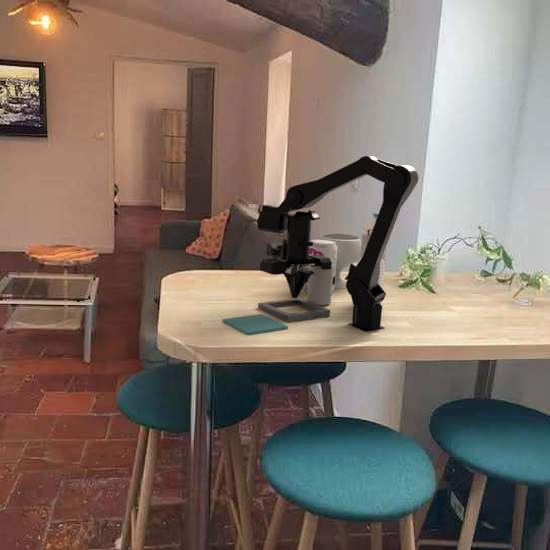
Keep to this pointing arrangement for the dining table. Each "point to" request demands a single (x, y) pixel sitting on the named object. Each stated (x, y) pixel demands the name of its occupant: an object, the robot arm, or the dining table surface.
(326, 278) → the beverage can
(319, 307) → the gray square frame
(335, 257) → the supplement can
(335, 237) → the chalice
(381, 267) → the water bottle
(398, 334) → the dining table surface
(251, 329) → the teal mat
